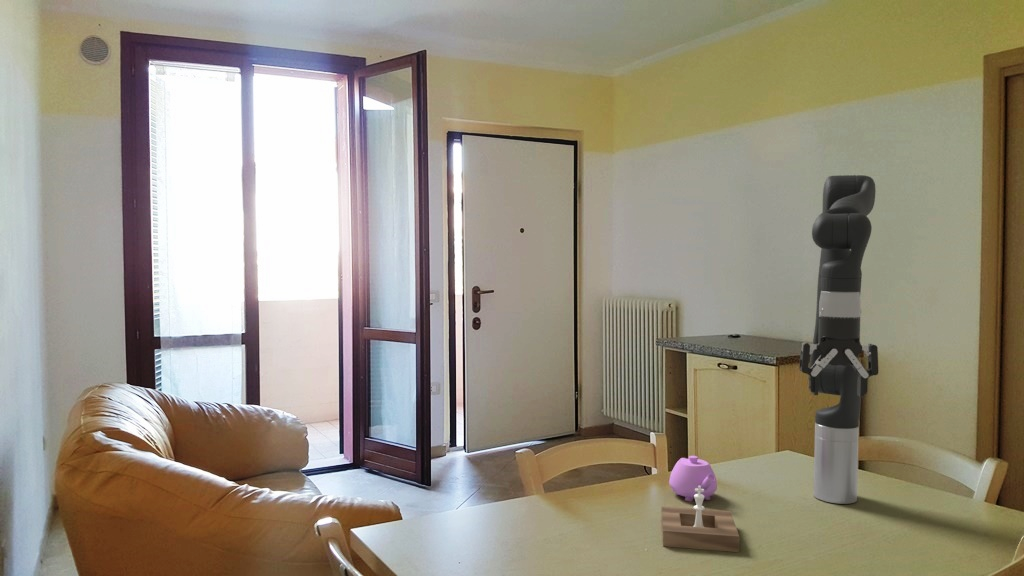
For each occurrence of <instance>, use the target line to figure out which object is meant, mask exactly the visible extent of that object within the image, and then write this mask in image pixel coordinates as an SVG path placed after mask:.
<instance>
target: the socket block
mask: <svg viewBox="0 0 1024 576" xmlns="http://www.w3.org/2000/svg"><path fill="white" fill-rule="evenodd" d="M696 511H697V510H696V509H694V508H689V507H688V508H687V507H677V506H676V507H675V506H661V516H660V517H661V520H660V521H661V533H662V534H661V539H662V547H665V548H667V547H669V548H670V547H671V548H681V549H694V550H695V549H696V550H705V551H706V550H707V551H709V550H710V551H719V552H720V551H722V552H731V553H732V552H733V553H735V552H736V553H739V552H740V534H739V532H738V531H739V530H738V528H737V526H736V523H735V520H734V516H733V514H732V511H731V510H723V509H721V510H720V509H706V508H705V509H704V510H701V512H702V522H703V527H694V525H695V519H696Z"/></svg>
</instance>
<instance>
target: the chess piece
mask: <svg viewBox="0 0 1024 576" xmlns="http://www.w3.org/2000/svg"><path fill="white" fill-rule="evenodd" d="M695 491H698V494H695V495H694V497H693V499H694V500H695V504H696V505H694V506H693V509H696V510H697V511H696V519H695V525H694V527H703V522H702V512H701V510H704V509H706V508H705V506H703V502H704V500H705V499H704V495H702V494H700V493H701V492H704V489H701V486H698V489H695Z"/></svg>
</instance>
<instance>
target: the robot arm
mask: <svg viewBox="0 0 1024 576" xmlns="http://www.w3.org/2000/svg"><path fill="white" fill-rule="evenodd" d="M876 189H877V188H876V184H875V181H874V179H873V178H872V177H871V176H868V175H862V174H861V175H859V174H858V175H856V174H854V175H852V174H851V175H849V174H847V175H846V174H845V175H829V176H827V177H826V179H825V181H824V185H823V189H822V190H823V191H822V212H821V213H820V214H819V215H818V216H817V217H816V218H815V220H814V222H813V224H812V227H811V228H812V229H811V238H812V240H813V243H814V244H815V245H816V247H817V246H818V248H820V258H819V267H818V274H817V275H818V278H817V289H816V290H817V292H816V313H815V323H814V332H813V338H812V343H808V342H806V341H803V342H801V344H800V354H799V364H798V365H799V366H798V369H799V371H800V372H802V373H803V374H806V375H808V390H809V392H811V394H812V395H813V396H818V395H819V393H820V394H825V395H826V394H827V395H832V396H840V397H839V403H837V404H836V405H833V406H827V407H823V408H820V409H817V410H816V411H815V416H814V451H813V452H814V458H813V459H814V460H813V463H814V464H813V465H814V467H813V496H814V498H816V499H818V500H821V501H823V502H827V503H830V504H831V503H832V504H841V505H842V504H843V505H847V504H848V505H849V504H854V503H856V502H857V501H858V471H859V431H860V430H859V428H860V415H861V403H862V398H864V397H865V395H867V394H868V385H869V384H868V383H869V378H870V377H873V376H877V375H879V352H878V351H879V350H878V349H879V348H878V346H877V345H876V344H874V343H868V344H862V343H861V340H860V339H861V314H862V306H861V303H862V302H861V293H862V292H861V290H862V276H863V274H862V269H861V268H862V262H863V258H864V254H865V252H866V248H867V246H868V243H869V241H870V238H871V236H872V235H871V233H872V222H871V220H870V218H869V217H868V215H869V214H870V213H872V210H873V209H874V207H875V201H876V192H877V191H876ZM862 351H863V353H864V355H866V356H867V369H865V368H864V366H863V364H862V362H861V361H860V359H859V355H860V354H861V353H862Z"/></svg>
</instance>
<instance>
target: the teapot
mask: <svg viewBox="0 0 1024 576" xmlns="http://www.w3.org/2000/svg"><path fill="white" fill-rule="evenodd" d="M668 484H669V486H670V488H671V489H672V491H673V492H674V493H675V495H676V496H682V497H685V498H684V501H687V502H693V501H694V495H695V494H698V491H695V489H698V486H701V489H704V492H701V493H700V494H702V495H704V500H706V501H709V500H711V496H713V495H714V494H715V493H716V492H717V490H718V482H717V477H716V474H715V472H714V469H713V468H712V466H711V464H710V463H709V462H708V461H706V460H703V459H700V458H699V456H697V455H688V458H686V457H681V458H680V459H679V460H678V461H677V462H676V463H675V464H674V466H673V469H672V470H671V473H670V475H669V482H668Z"/></svg>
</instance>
